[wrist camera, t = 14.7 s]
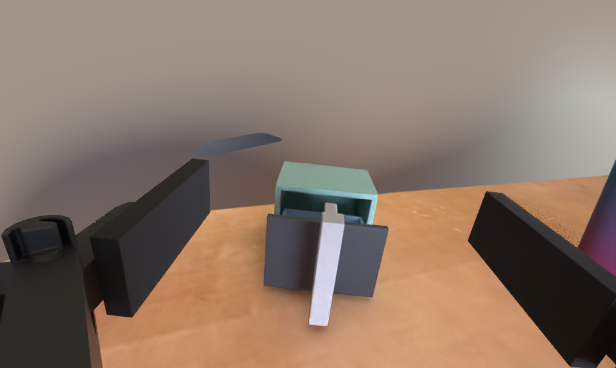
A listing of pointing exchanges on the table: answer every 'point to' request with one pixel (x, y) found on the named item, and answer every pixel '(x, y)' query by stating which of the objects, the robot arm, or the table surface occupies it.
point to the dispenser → (325, 190)
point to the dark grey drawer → (323, 255)
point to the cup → (603, 227)
